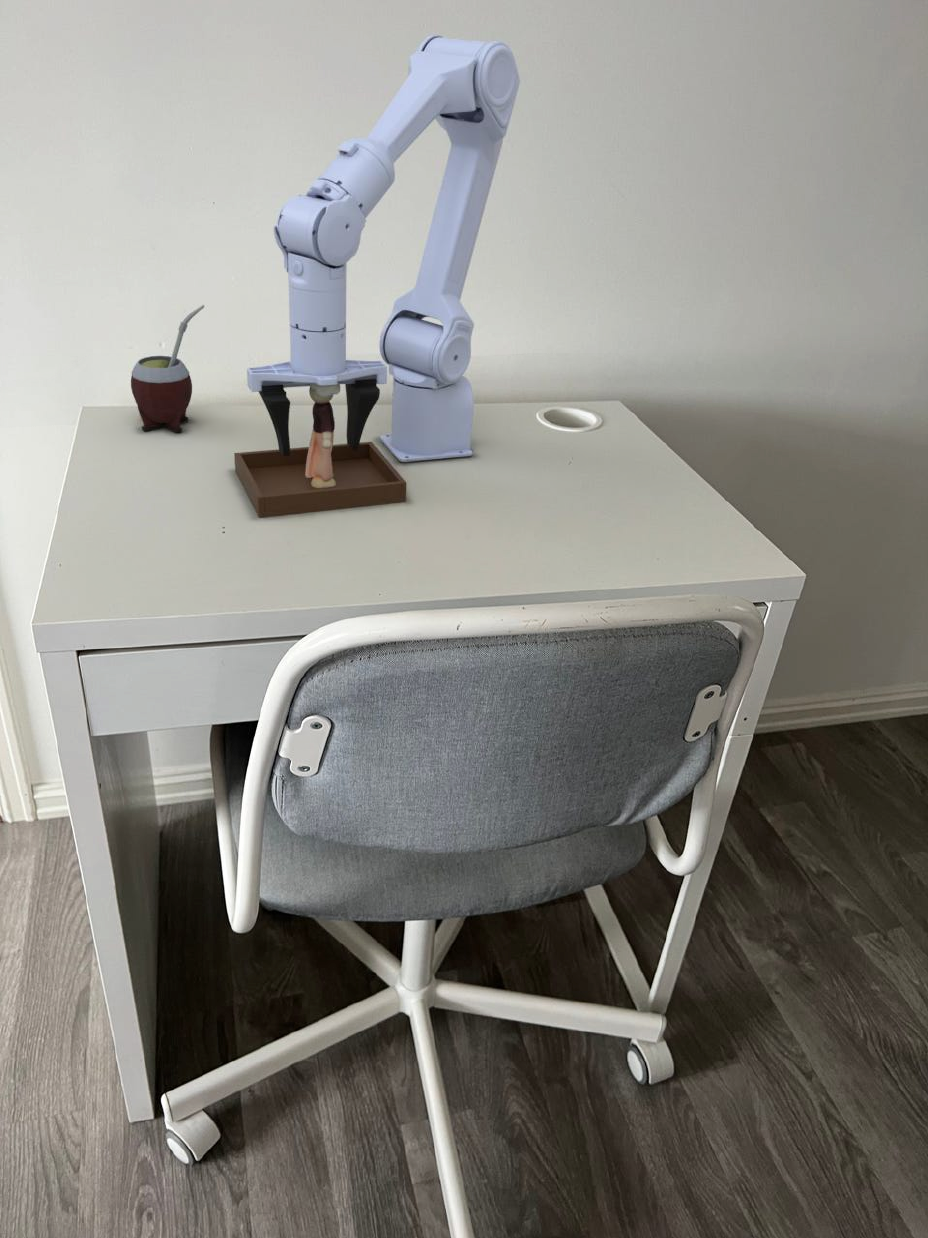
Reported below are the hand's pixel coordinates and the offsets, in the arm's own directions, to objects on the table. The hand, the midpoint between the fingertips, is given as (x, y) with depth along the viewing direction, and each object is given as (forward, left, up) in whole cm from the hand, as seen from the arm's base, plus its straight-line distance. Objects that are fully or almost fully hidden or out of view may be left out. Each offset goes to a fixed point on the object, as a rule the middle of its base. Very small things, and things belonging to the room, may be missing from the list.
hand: (318, 449), depth 106 cm
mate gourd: (+13, -22, -4) cm, 26 cm away
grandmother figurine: (0, 0, -4) cm, 4 cm away
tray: (0, 0, -4) cm, 4 cm away
